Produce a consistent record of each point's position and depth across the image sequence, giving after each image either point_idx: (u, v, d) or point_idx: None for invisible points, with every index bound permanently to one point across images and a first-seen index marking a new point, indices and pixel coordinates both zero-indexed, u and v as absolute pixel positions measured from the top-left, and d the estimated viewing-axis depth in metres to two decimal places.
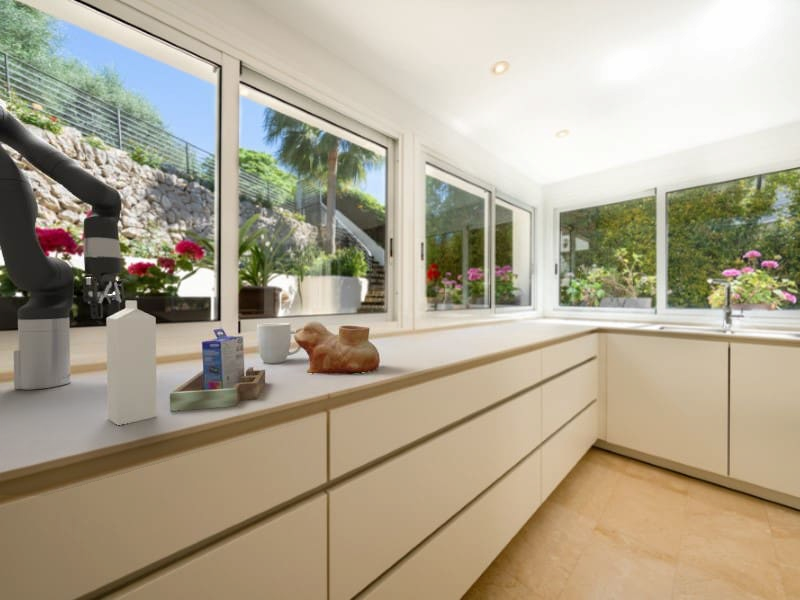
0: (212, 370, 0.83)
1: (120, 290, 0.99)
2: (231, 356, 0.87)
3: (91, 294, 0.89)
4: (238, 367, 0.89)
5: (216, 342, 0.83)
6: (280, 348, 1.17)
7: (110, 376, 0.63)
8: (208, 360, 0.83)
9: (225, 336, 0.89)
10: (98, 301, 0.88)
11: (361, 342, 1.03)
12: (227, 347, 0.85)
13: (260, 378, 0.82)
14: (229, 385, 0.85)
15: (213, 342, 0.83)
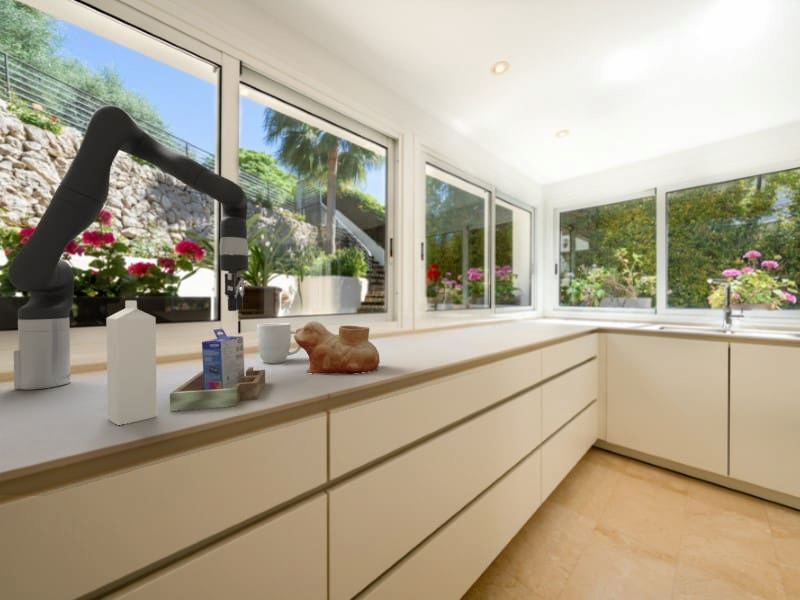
0: (212, 370, 0.83)
1: None
2: (231, 356, 0.87)
3: (228, 288, 0.97)
4: (238, 367, 0.89)
5: (216, 342, 0.83)
6: (280, 348, 1.17)
7: (110, 376, 0.63)
8: (208, 360, 0.83)
9: (225, 336, 0.89)
10: (235, 295, 0.97)
11: (361, 342, 1.03)
12: (227, 347, 0.85)
13: (260, 378, 0.82)
14: (229, 385, 0.85)
15: (213, 342, 0.83)
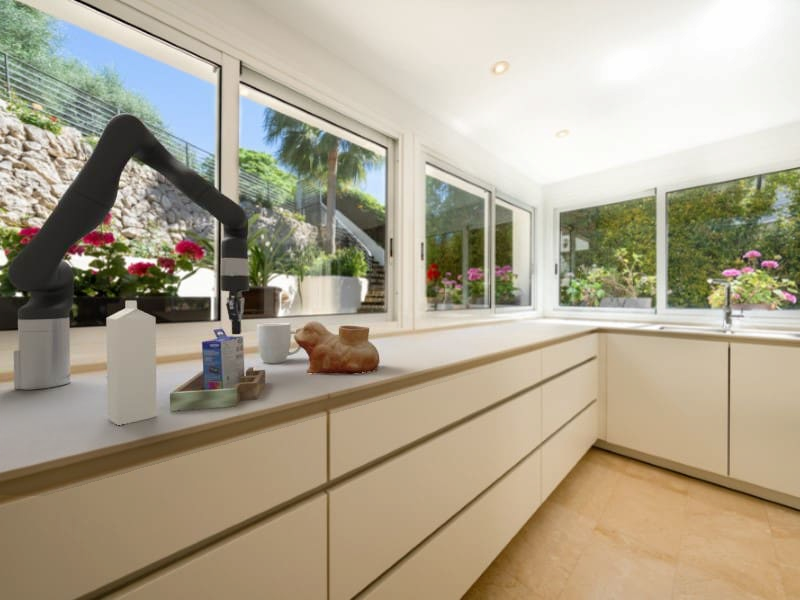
0: (212, 370, 0.83)
1: None
2: (231, 356, 0.87)
3: (231, 313, 1.00)
4: (238, 367, 0.89)
5: (216, 342, 0.83)
6: (280, 348, 1.17)
7: (110, 376, 0.63)
8: (208, 360, 0.83)
9: (225, 336, 0.89)
10: (238, 319, 1.01)
11: (361, 342, 1.03)
12: (227, 347, 0.85)
13: (260, 378, 0.82)
14: (229, 385, 0.85)
15: (213, 342, 0.83)
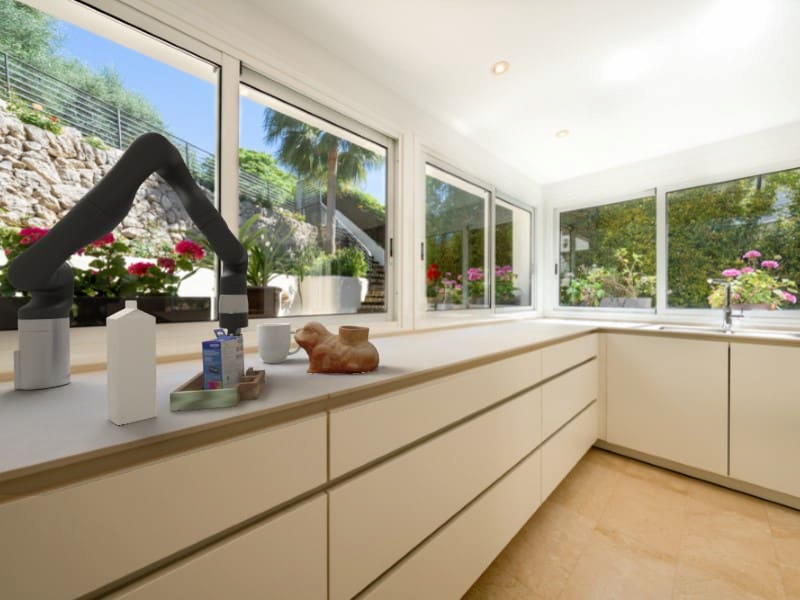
0: (212, 370, 0.83)
1: None
2: (231, 356, 0.87)
3: None
4: (238, 367, 0.89)
5: (216, 342, 0.83)
6: (280, 348, 1.17)
7: (110, 376, 0.63)
8: (208, 360, 0.83)
9: (225, 336, 0.89)
10: None
11: (361, 342, 1.03)
12: (227, 347, 0.85)
13: (260, 378, 0.82)
14: (229, 385, 0.85)
15: (213, 342, 0.83)
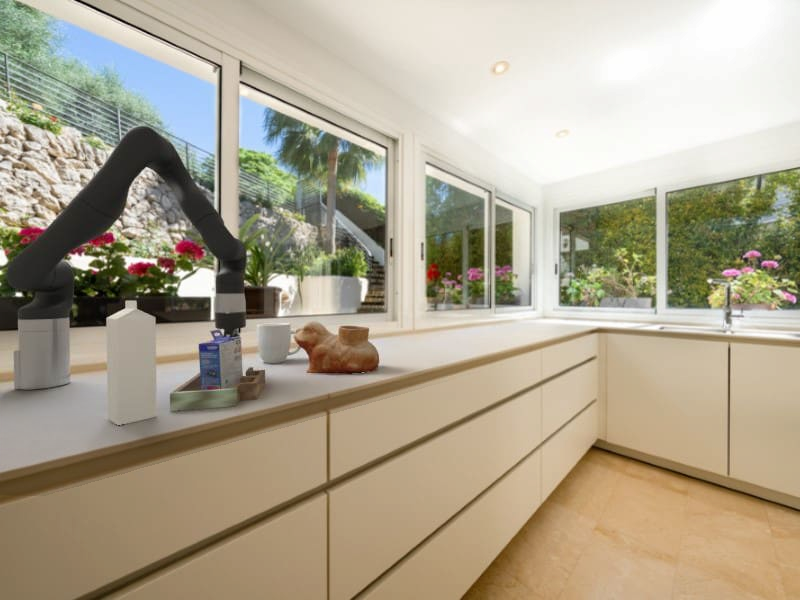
0: (210, 374, 0.79)
1: None
2: (230, 358, 0.83)
3: None
4: (236, 370, 0.85)
5: (214, 344, 0.79)
6: (280, 348, 1.17)
7: (110, 376, 0.63)
8: (206, 363, 0.79)
9: (222, 337, 0.85)
10: None
11: (361, 342, 1.03)
12: (225, 349, 0.81)
13: (260, 378, 0.82)
14: None
15: (211, 344, 0.79)
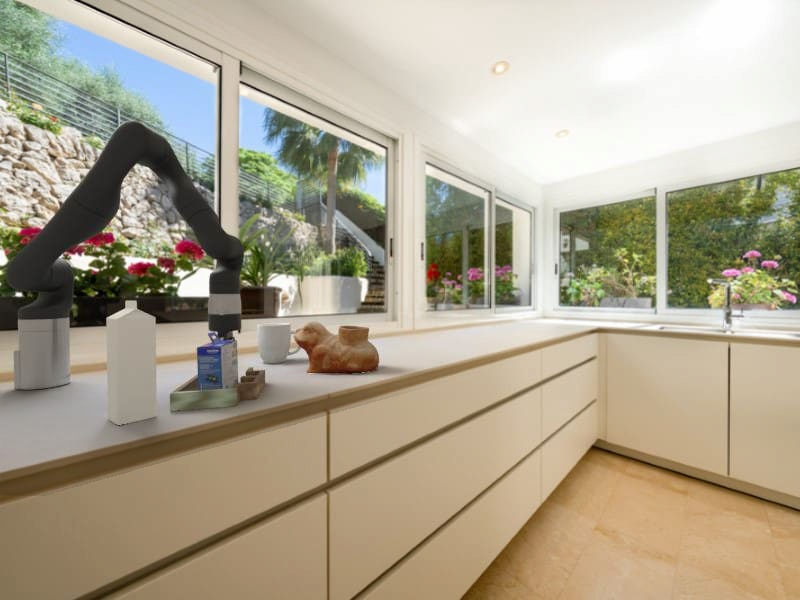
0: (210, 379, 0.74)
1: None
2: (229, 362, 0.78)
3: None
4: (233, 375, 0.81)
5: (215, 347, 0.74)
6: (280, 348, 1.17)
7: (110, 376, 0.63)
8: (205, 368, 0.74)
9: (219, 340, 0.80)
10: None
11: (360, 342, 1.03)
12: (225, 353, 0.76)
13: (260, 378, 0.82)
14: None
15: (211, 347, 0.74)
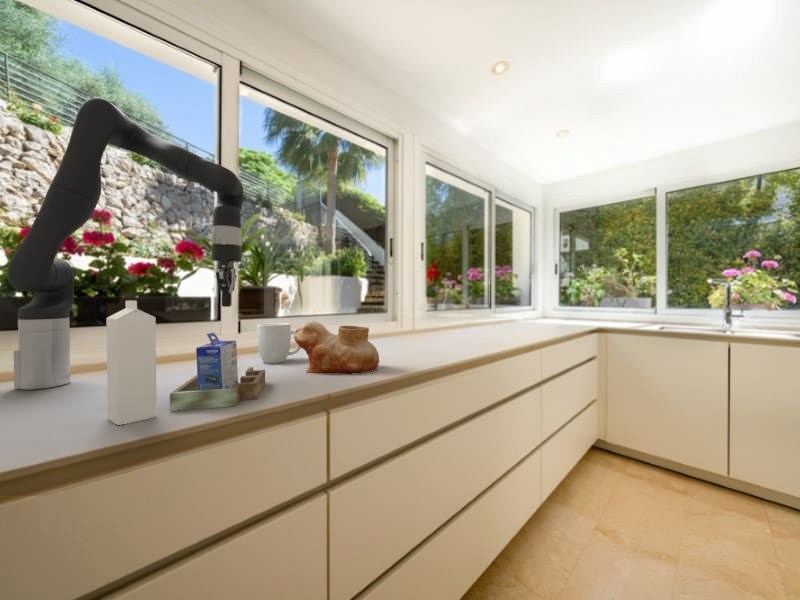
0: (210, 380, 0.74)
1: None
2: (228, 363, 0.78)
3: (221, 284, 0.95)
4: (233, 375, 0.81)
5: (214, 348, 0.74)
6: (280, 348, 1.17)
7: (110, 376, 0.63)
8: (205, 368, 0.74)
9: (218, 341, 0.80)
10: (229, 290, 0.96)
11: (360, 342, 1.03)
12: (225, 353, 0.76)
13: (260, 378, 0.82)
14: None
15: (211, 348, 0.74)
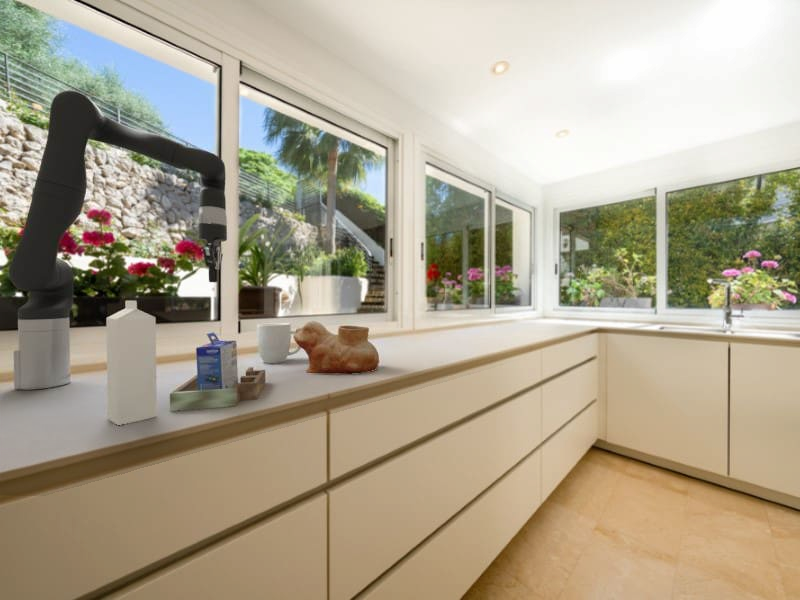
0: (210, 380, 0.74)
1: None
2: (228, 363, 0.78)
3: (208, 261, 1.03)
4: (233, 375, 0.81)
5: (214, 348, 0.74)
6: (280, 348, 1.17)
7: (110, 376, 0.63)
8: (205, 368, 0.74)
9: (218, 341, 0.80)
10: (215, 267, 1.04)
11: (360, 342, 1.03)
12: (225, 353, 0.76)
13: (260, 378, 0.82)
14: None
15: (211, 348, 0.74)
